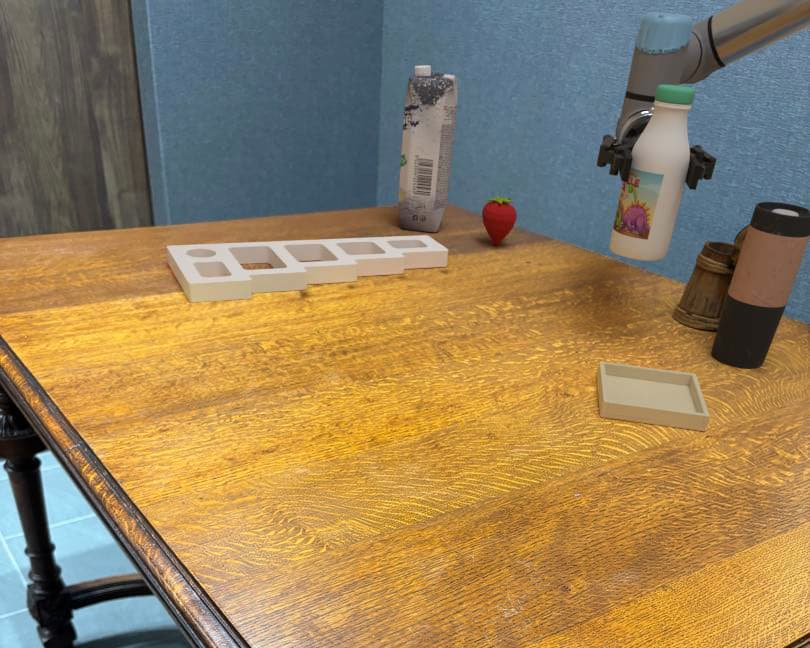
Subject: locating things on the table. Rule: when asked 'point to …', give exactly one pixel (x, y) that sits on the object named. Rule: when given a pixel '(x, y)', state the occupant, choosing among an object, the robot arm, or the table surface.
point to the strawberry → (498, 218)
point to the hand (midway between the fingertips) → (661, 173)
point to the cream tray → (651, 396)
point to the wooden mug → (709, 284)
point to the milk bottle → (655, 179)
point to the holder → (295, 264)
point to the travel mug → (761, 283)
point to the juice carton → (426, 149)
